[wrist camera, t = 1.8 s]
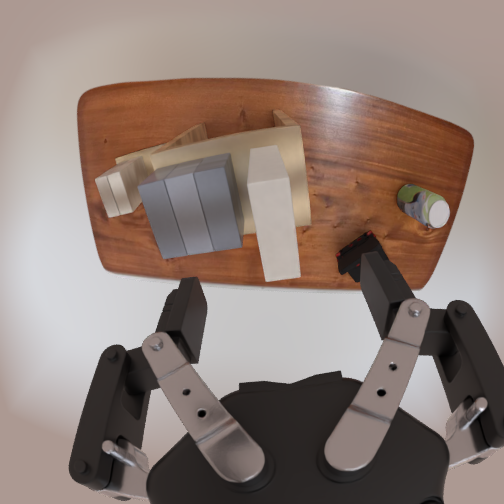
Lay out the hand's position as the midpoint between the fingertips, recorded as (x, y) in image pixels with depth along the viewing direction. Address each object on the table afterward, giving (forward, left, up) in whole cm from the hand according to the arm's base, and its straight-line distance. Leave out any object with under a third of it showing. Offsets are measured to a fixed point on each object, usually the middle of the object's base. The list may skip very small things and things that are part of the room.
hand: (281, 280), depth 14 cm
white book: (0, 0, -15) cm, 15 cm away
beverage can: (+14, +28, -39) cm, 49 cm away
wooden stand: (0, -3, -39) cm, 39 cm away
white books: (+2, -19, -39) cm, 43 cm away
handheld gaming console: (+26, +17, -39) cm, 49 cm away
